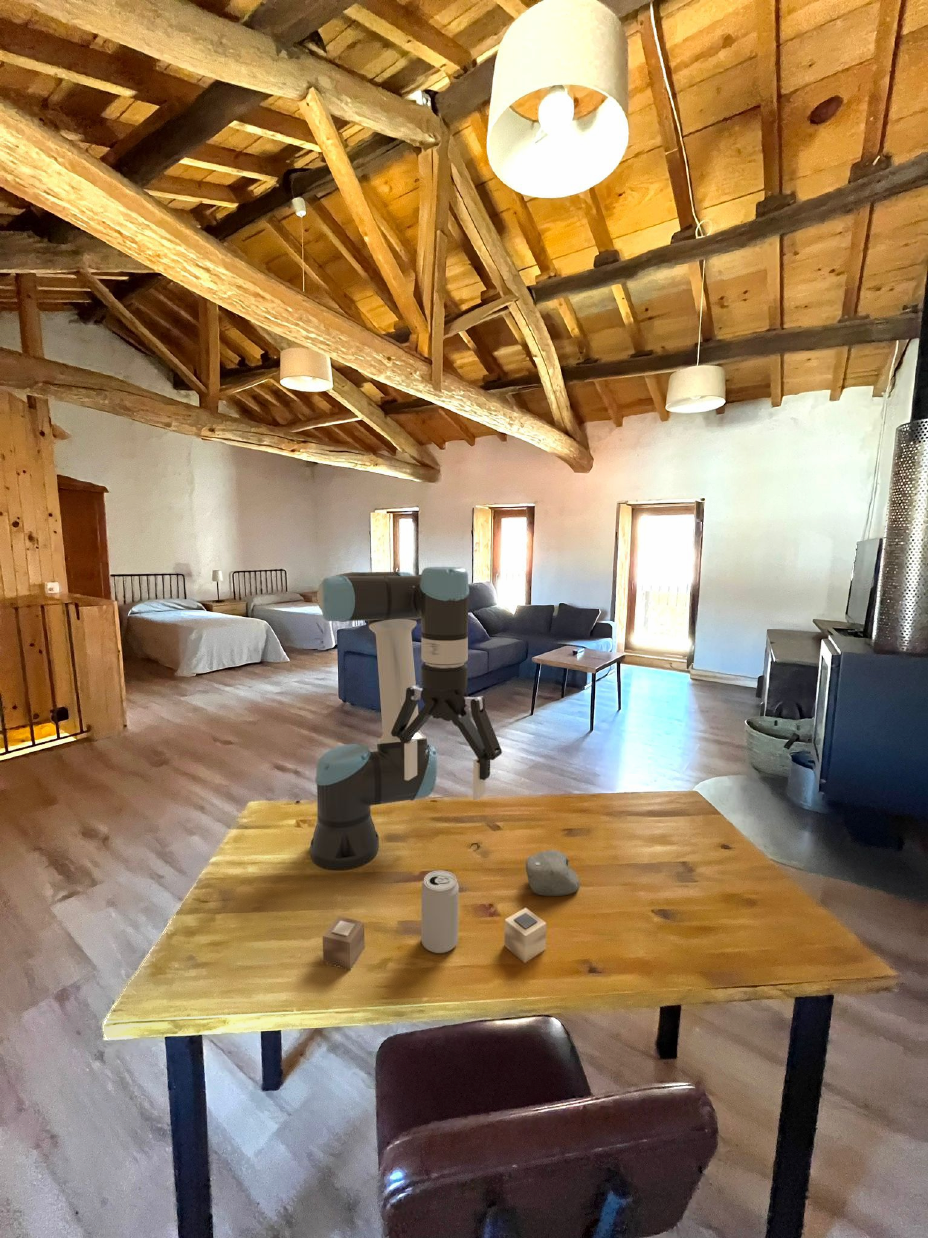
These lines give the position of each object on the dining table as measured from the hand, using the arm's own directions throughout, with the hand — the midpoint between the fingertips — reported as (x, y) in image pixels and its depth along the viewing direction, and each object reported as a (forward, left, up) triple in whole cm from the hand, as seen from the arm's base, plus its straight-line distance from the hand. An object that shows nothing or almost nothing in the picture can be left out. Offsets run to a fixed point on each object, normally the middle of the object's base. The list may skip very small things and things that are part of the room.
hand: (443, 786), depth 90 cm
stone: (+10, +25, -29) cm, 39 cm away
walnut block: (-12, -12, -29) cm, 33 cm away
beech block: (+13, +6, -29) cm, 32 cm away
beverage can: (0, -1, -29) cm, 29 cm away
